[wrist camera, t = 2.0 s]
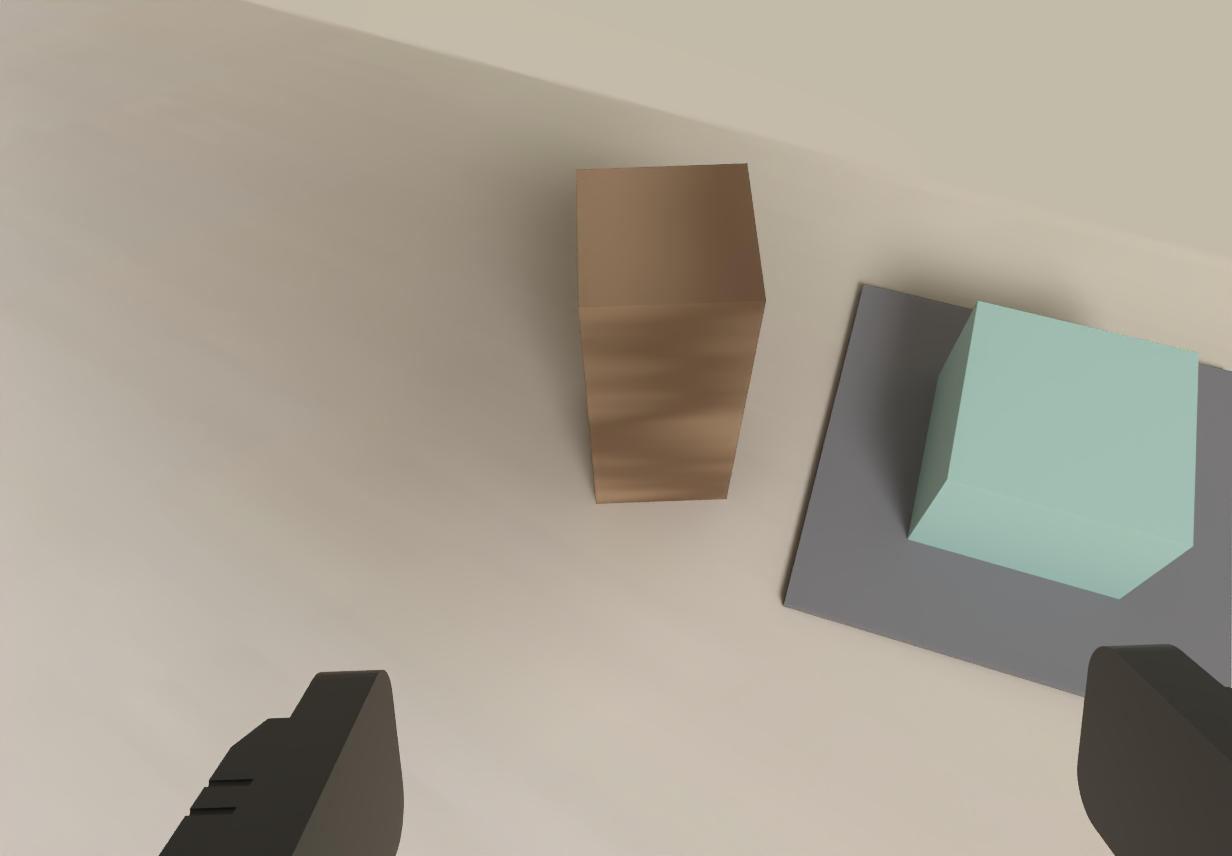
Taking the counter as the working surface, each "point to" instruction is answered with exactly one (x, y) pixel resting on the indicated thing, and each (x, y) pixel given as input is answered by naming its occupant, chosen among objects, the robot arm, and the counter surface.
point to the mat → (971, 588)
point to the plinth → (1060, 451)
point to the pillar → (667, 325)
